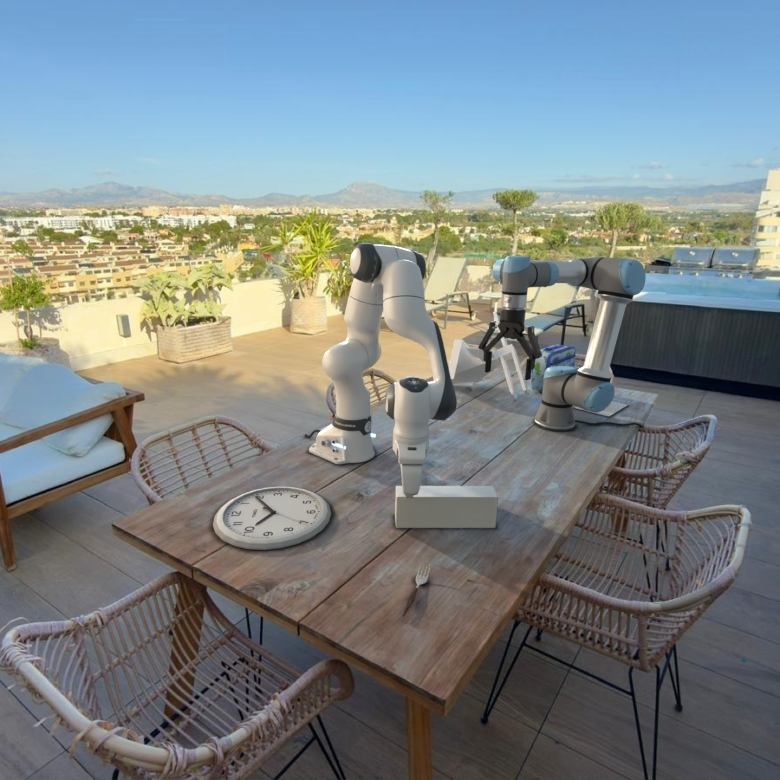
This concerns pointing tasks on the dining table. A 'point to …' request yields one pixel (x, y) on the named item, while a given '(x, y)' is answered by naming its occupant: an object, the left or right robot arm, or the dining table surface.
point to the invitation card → (609, 408)
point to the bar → (447, 507)
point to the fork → (419, 580)
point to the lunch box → (551, 362)
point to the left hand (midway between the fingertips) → (408, 493)
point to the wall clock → (272, 518)
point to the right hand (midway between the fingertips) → (507, 375)
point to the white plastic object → (483, 363)
